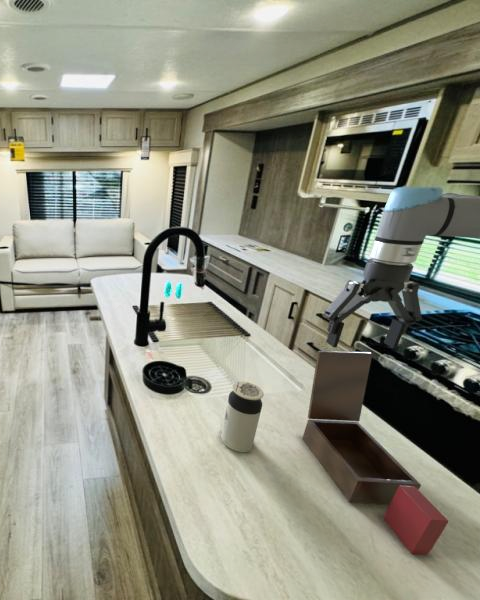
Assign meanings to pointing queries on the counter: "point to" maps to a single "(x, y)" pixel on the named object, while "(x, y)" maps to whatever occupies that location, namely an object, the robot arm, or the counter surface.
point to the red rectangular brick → (415, 520)
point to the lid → (339, 385)
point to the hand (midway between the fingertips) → (360, 345)
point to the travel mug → (242, 416)
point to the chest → (356, 461)
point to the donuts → (169, 287)
